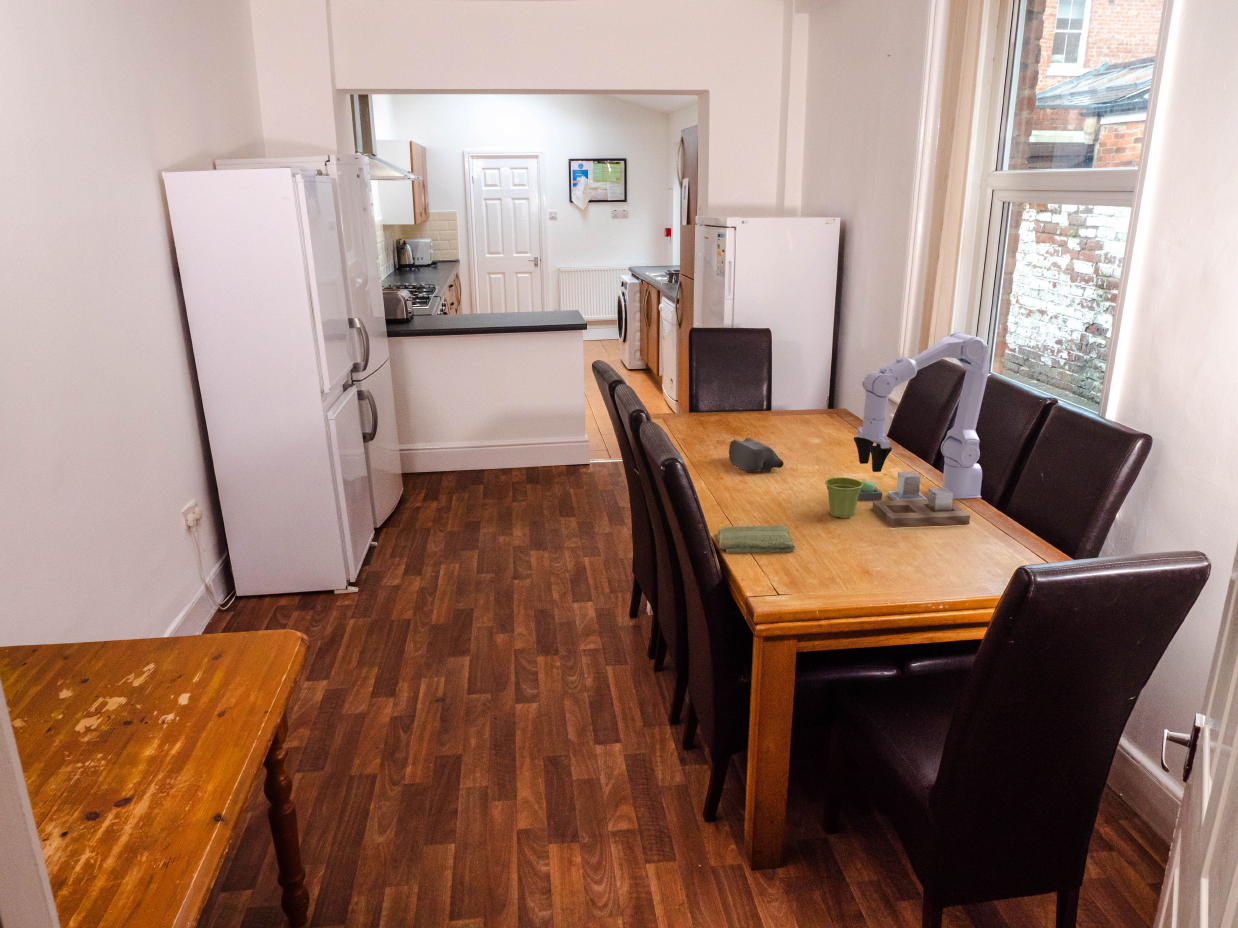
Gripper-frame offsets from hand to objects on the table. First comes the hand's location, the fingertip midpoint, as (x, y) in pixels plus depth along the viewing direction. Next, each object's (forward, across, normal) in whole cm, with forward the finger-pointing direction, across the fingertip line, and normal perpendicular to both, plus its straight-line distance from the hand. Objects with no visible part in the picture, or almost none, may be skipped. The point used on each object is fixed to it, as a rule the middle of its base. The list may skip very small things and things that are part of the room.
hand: (870, 467), depth 232 cm
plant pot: (+10, +8, -11) cm, 17 cm away
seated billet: (+9, +15, +12) cm, 21 cm away
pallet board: (+9, +14, +8) cm, 19 cm away
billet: (+9, +2, +11) cm, 14 cm away
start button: (+8, -2, +1) cm, 9 cm away
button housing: (+10, -2, +1) cm, 10 cm away
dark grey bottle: (+10, -38, -19) cm, 43 cm away
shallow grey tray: (+9, +2, +11) cm, 14 cm away
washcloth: (+11, +23, -39) cm, 47 cm away
